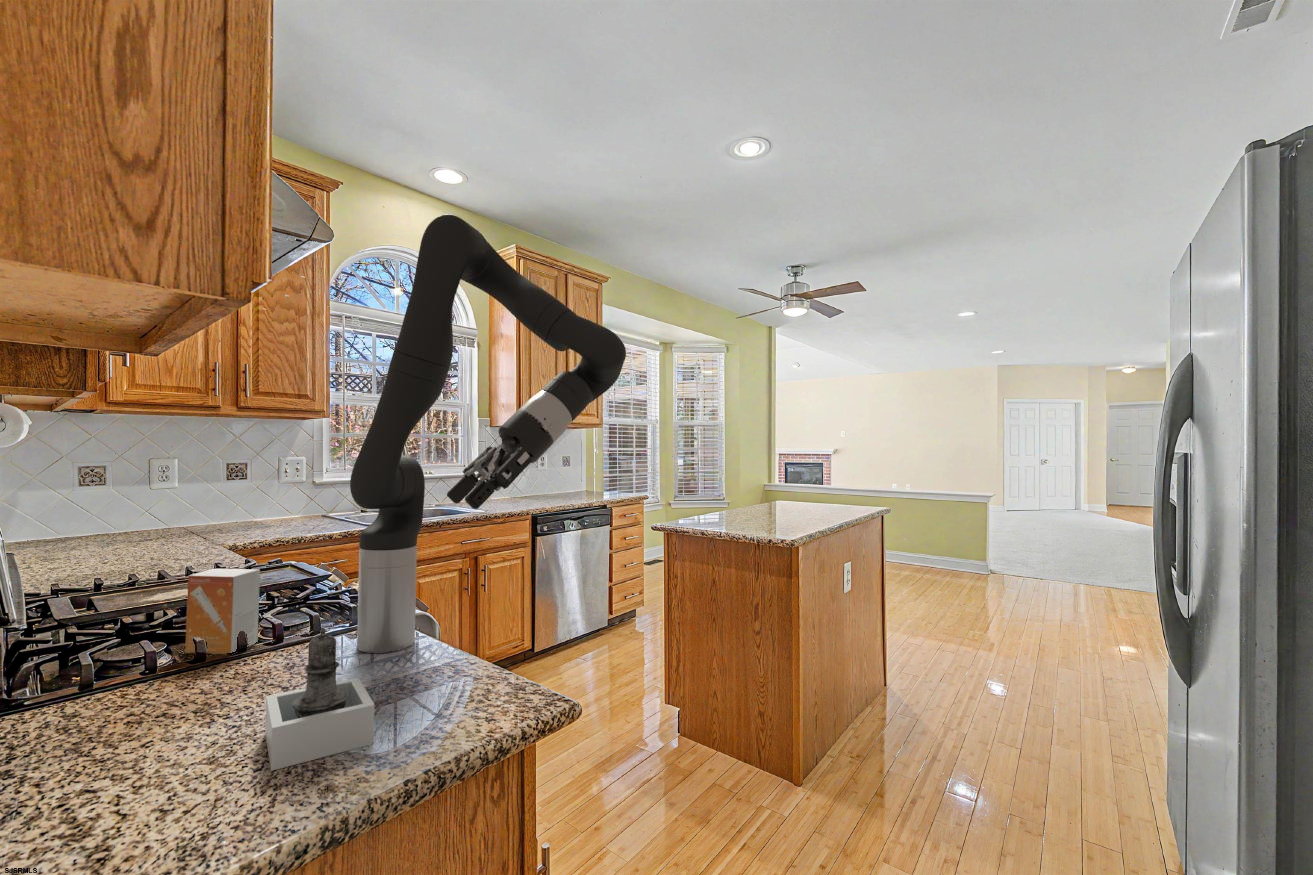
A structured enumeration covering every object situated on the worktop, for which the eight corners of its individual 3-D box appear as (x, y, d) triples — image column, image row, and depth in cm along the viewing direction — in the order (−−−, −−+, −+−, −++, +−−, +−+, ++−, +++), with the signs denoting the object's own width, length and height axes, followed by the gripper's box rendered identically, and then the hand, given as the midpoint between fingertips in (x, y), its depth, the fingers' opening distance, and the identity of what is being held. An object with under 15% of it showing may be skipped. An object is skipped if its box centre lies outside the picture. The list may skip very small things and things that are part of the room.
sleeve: (265, 733, 70) (266, 695, 70) (357, 712, 76) (358, 677, 76) (270, 770, 62) (272, 728, 62) (373, 743, 68) (374, 704, 68)
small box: (183, 654, 97) (186, 575, 97) (214, 641, 103) (216, 567, 103) (231, 655, 96) (233, 576, 97) (259, 642, 103) (261, 568, 103)
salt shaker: (322, 744, 66) (325, 636, 66) (278, 738, 67) (281, 632, 67) (359, 720, 72) (361, 622, 72) (317, 715, 73) (320, 618, 73)
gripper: (503, 410, 95) (428, 481, 88) (540, 406, 84) (457, 487, 77) (532, 443, 98) (462, 514, 91) (572, 444, 87) (495, 525, 80)
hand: (460, 502), depth 84 cm, fingers open, 8 cm apart
